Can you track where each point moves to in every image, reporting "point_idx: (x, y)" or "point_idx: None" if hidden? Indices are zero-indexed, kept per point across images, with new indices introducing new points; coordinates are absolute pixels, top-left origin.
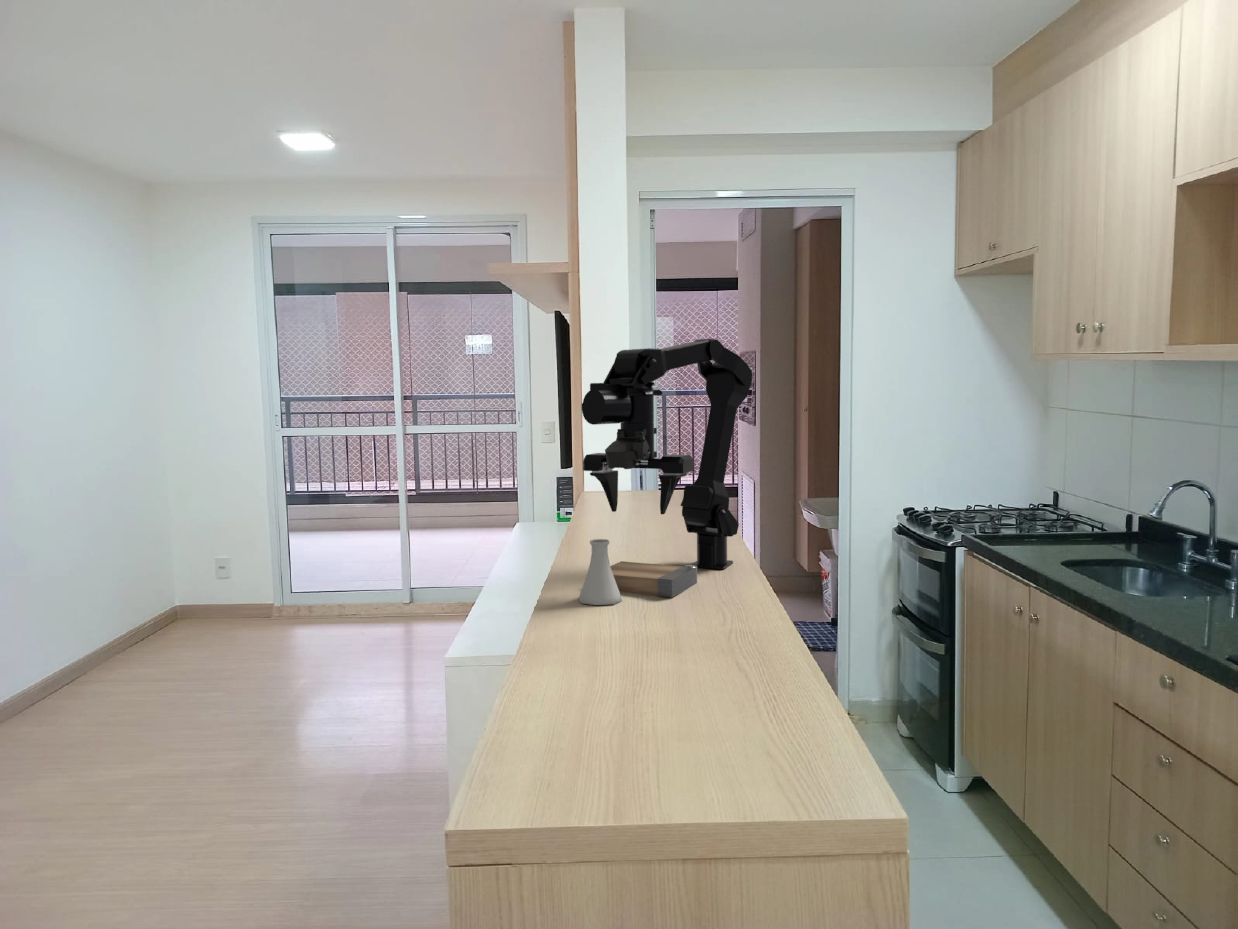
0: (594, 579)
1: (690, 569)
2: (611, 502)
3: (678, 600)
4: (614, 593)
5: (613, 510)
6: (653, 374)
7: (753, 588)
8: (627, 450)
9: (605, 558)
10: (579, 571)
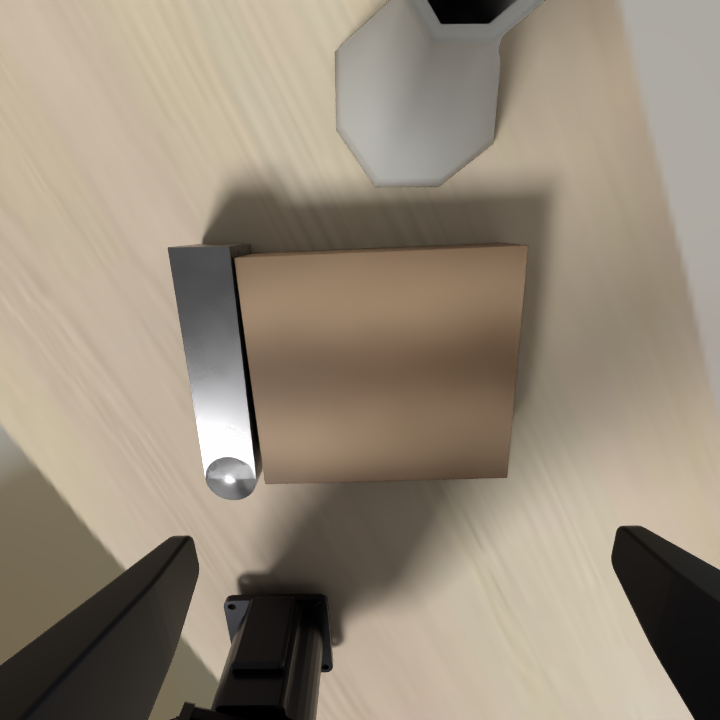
0: None
1: (202, 435)
2: (702, 580)
3: (172, 237)
4: (344, 68)
5: (629, 530)
6: None
7: (65, 469)
8: None
9: None
10: (657, 472)
